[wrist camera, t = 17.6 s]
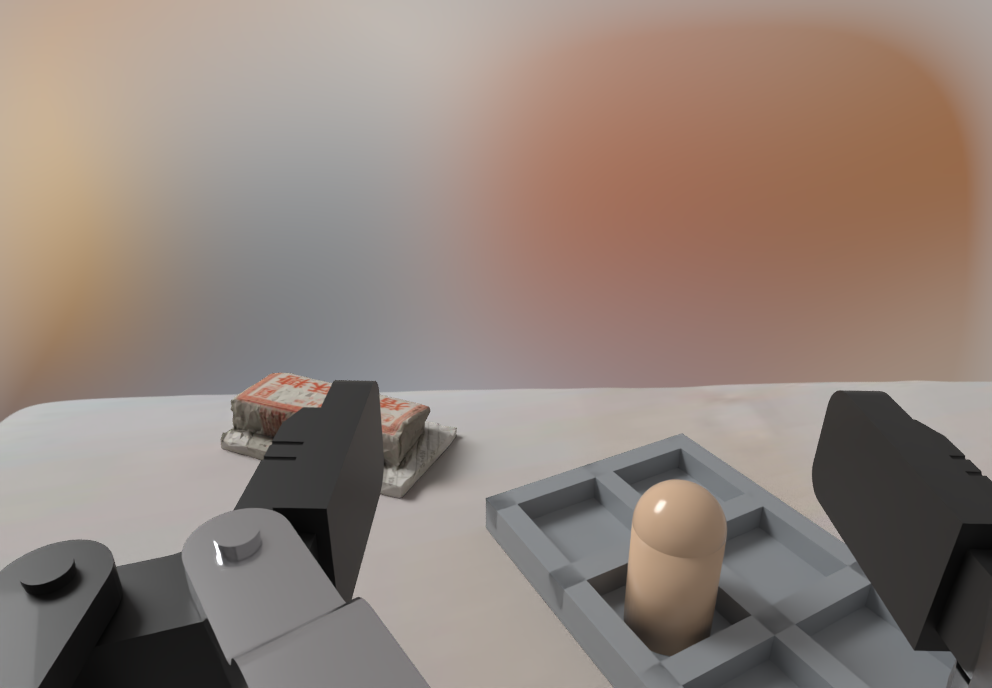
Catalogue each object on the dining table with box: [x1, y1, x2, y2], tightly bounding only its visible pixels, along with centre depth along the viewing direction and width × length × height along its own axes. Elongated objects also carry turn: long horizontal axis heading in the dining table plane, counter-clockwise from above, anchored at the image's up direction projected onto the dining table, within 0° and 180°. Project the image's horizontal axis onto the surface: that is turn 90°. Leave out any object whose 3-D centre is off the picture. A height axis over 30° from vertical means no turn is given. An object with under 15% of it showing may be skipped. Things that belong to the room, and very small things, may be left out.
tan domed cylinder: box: [623, 479, 727, 656], centre depth 38 cm, size 5×5×10 cm
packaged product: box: [221, 373, 457, 498], centre depth 59 cm, size 18×5×10 cm
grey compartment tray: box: [486, 434, 956, 688], centre depth 42 cm, size 26×18×3 cm
